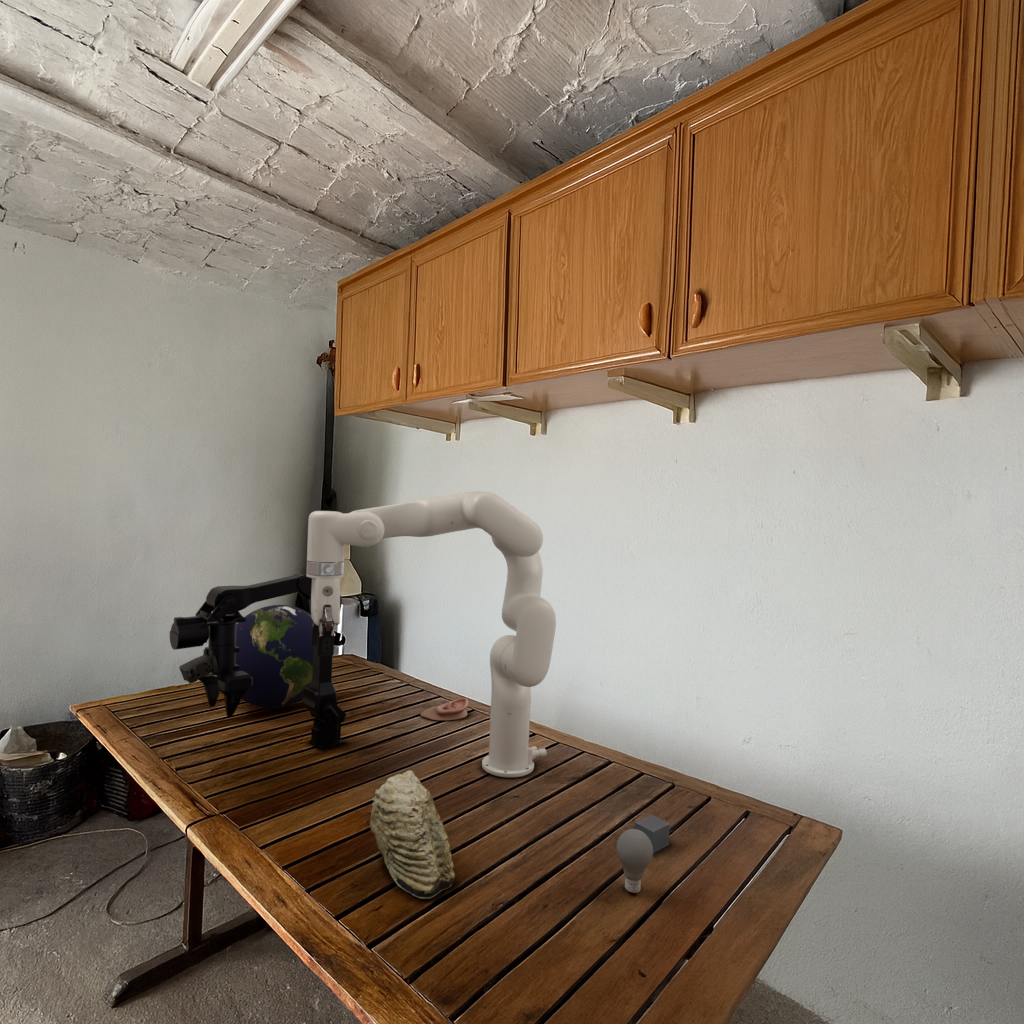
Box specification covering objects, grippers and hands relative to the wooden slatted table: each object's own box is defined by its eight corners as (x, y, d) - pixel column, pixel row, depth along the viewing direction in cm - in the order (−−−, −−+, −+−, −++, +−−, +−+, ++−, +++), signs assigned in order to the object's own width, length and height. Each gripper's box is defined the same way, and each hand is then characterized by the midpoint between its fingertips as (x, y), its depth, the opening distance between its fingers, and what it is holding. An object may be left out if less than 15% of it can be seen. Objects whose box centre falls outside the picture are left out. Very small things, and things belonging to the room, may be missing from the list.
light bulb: (610, 879, 108) (613, 822, 108) (644, 879, 109) (647, 822, 109) (619, 902, 102) (622, 840, 102) (655, 901, 103) (658, 840, 103)
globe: (289, 685, 209) (292, 594, 208) (348, 705, 191) (352, 606, 191) (199, 706, 185) (203, 604, 184) (258, 732, 167) (262, 619, 167)
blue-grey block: (633, 843, 121) (635, 822, 121) (650, 835, 124) (651, 814, 124) (652, 853, 117) (653, 831, 117) (668, 845, 121) (670, 823, 121)
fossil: (399, 838, 118) (402, 759, 118) (464, 883, 106) (468, 794, 105) (357, 856, 112) (361, 772, 112) (421, 906, 99) (425, 811, 99)
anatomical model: (416, 704, 183) (430, 693, 194) (416, 718, 183) (429, 705, 194) (461, 709, 180) (471, 697, 192) (460, 723, 180) (471, 710, 192)
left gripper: (168, 640, 143) (167, 709, 144) (202, 657, 131) (200, 732, 131) (218, 634, 151) (217, 698, 152) (254, 648, 139) (253, 719, 139)
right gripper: (350, 574, 127) (347, 659, 127) (337, 564, 143) (334, 640, 143) (311, 574, 124) (308, 661, 124) (302, 565, 140) (299, 642, 140)
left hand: (220, 711), depth 143 cm, fingers open, 9 cm apart
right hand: (322, 650), depth 134 cm, fingers open, 9 cm apart
